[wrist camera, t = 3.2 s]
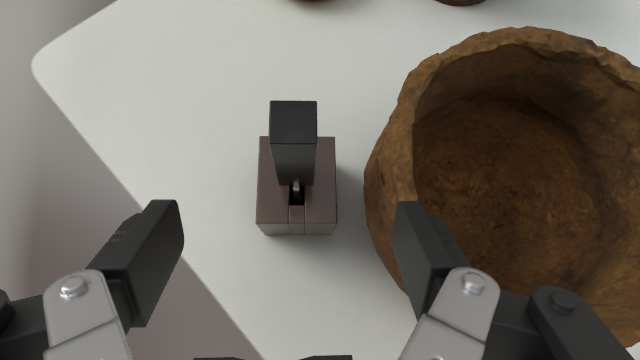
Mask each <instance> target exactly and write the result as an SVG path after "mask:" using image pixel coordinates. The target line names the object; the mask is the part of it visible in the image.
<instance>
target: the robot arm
mask: <svg viewBox="0 0 640 360" xmlns="http://www.w3.org/2000/svg"><path fill="white" fill-rule="evenodd" d="M183 247H184V233H183V228H182V223H181V218H180V213H179V208H178V204H177V202H176V200H151V201H150V203H149V204H148V205H147V207H146V208H145V209H144V210H143V212H142V213H137V214H135V215H133V216H132V217H130V218H129V219H127V220H126V221H124V222H123V223H122V224H121V225H120V227H119V228H118V229H117V230H116V231H115V234H113V235H112V236H111V238H110V239H109V242H107V243H106V244H105V245H104V246H103V247H102V249H101V250H100V251H99V252H98V254H97V255H96V256H95V257H94V259H93V260H92V261H91V262H90V263H89V265H88V266H87V267H86V268H85V270H80V271H75V272H72V273H70V274H67V275H65V276H63V277H61V278H59V279H58V280H56V281H55V282H53V283H52V284H51V285H50V286H49V287H48V288H47V289H46V291H45V292H44V294H43V295H39V296H34V297H30V298H25V299H21V300H16V301H12V302H11V301H10V299H9V298H8V296H7V294H6V292H5V291H3V290H1V289H0V360H135V359H134V357H133V354H132V351H131V348H130V346H129V343H128V340H127V337H126V335H127V333H128V331H129V329H130V328H131V327H146V325H147V323H148V321H149V319H150V317H151V315H152V313H153V311H154V309H155V306H156V304H157V303H158V300H159V298H160V296H161V294H162V292H163V290H164V288H165V286H166V284H167V282H168V280H169V278H170V276H171V274H172V272H173V270H174V267H175V265H176V263H177V261H178V259H179V257H180V255H181V253H182V251H183ZM392 248H393V252H394V255H395V258H396V261H397V264H398V267H399V270H400V272H401V275H402V278H403V281H404V284H405V287H406V290H407V293H408V296H409V298H410V301H411V304H412V307H413V310H414V313H415V316H416V319H417V322H418V323H417V325H416V327H415V329H414V331H413V333H412V335H411V336H410V338H409V340H408V342H407V344H406V346H405V347H404V349H403V351H402V353H401V355H400V357H399V359H398V360H634V359H633V357H632V356H631V355H630V354H629V353H628V351H627V350H626V349H625V348H624V347H623V345H622V344H621V343H620V342H619V341H618V340H617V338H616V337H615V336H614V335H613V334H612V333H611V331H610V330H609V329H608V328H607V327H606V325H605V324H604V323H603V322H602V321H601V320H600V318H599V317H598V316H597V315H596V314H595V312H594V311H593V310H592V309H591V308H590V307H589V305H588V304H587V303H586V302H585V301H584V300H583V299H581V298H580V297H579V296H577V295H576V294H574V293H572V292H571V291H569V290H566V289H564V288H561V287H558V286H554V285H539V286H537V287H535V288H534V290H533V291H532V294H531V296H527V295H523V294H518V293H514V292H509V291H505V290H502V289H500V288H499V285H498V284H497V282H496V281H495V280H494V279H493V278H492V277H491V276H489V275H488V274H486V273H485V272H483V271H481V270H478V269H475V268H473V267H472V265H471V264H470V262H469V260H468V259H467V257H466V256H465V254H464V252H463V251H462V249H461V248H460V246H459V244H458V243H457V242H456V239H455V238H454V236H453V235H452V234H451V231H450V230H449V228H448V227H447V225H446V223H445V222H444V221H442V220H441V219H440V218H439V217H437V216H436V215H435V214H427V212H426V211H425V209H424V207H423V205H422V204H421V202H420V201H398V203H397V207H396V213H395V219H394V226H393V232H392ZM194 360H243V359H238V358H234V357H224V358H194ZM300 360H352V355H332V356H311V357H308V358H304V359H300Z"/></svg>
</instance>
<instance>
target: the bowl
mask: <svg viewBox="0 0 640 360" xmlns="http://www.w3.org/2000/svg"><path fill="white" fill-rule="evenodd" d="M398 201H420V202H421V204H422V205H423V207H424V209H425V211H426V212H427V214H435V215H436V216H437V217H439V218H440V219H441V220H442V221H444V222H445V223H446V225H447V227H448V228H449V230H450V231H451V234H452V235H453V236H454V238H455V239H456V242H457V243H458V244H459V246H460V248H461V249H462V251H463V252H464V254H465V256H466V257H467V259H468V260H469V262H470V264H471V265H472V267H473V268H475V269H478V270H481V271H483V272H485V273H486V274H488V275H489V276H491V277H492V278H493V279H494V280H495V281H496V282H497V284H498V285H499V288H500V289H502V290H505V291H509V292H514V293H518V294H523V295H527V296H531V294H532V291H533V290H534V288H535V287H537V286H539V285H554V286H558V287H561V288H564V289H566V290H569V291H571V292H572V293H574V294H576V295H577V296H579V297H580V298H581V299H583V300H584V301H585V302H586V303H587V304H588V305H589V307H590V308H591V309H592V310H593V311H594V312H595V314H596V315H597V316H598V317H599V318H600V320H601V321H602V322H603V323H604V324H605V325H606V327H607V328H608V329H609V330H610V331H611V333H612V334H613V335H614V336H615V337H616V338H617V340H618V341H619V342H620V343H621V344H622V345H623V347H624V348H627V347H632V346H633V345H635V344H636V343H638V342H640V68H639V67H637V66H634V65H632V64H631V63H630V62H629V61H628V60H627V59H626V58H625V57H623V56H621V55H619V54H617V53H615V52H612V51H609V50H608V49H607V48H605V47H600V46H597V45H596V44H595V43H594V42H593V41H592V40H589V39H585V38H581V37H577V36H573V35H568V34H566V33H564V32H560V31H555V30H551V29H543V28H536V27H531V26H526V27H522V28H519V29H517V28H513V27H508V28H503V29H499V30H495V31H492V32H489V33H487V32H481V33H478V34H475V35H472V36H470V37H468V38H467V39H465V40H464V41H462V42H461V43H460V44H457V45H454V46H452V47H450V48H449V49H447V50H446V51H445V52H443V53H441V54H439V53H437V54H434V55H432V56H430V57H428V58H426V59H425V60H423V61H422V62H421V63H420V64H419V65H418V67H416V68H415V69H414V70H412V71H411V72H409V74H408V76H407V78H406V80H405V82H404V84H403V86H402V89H401V92H400V94H399V97H398V105H397V106H396V108H395V110H394V111H393V113H392V114H391V116H390V118H389V122H388V124H387V125H386V127H385V128H384V130H383V132H382V134H381V135H380V137H379V139H378V140H377V143H376V145H375V147H374V149H373V151H372V153H371V156H370V158H369V160H368V162H367V165H366V168H365V171H364V203H365V212H366V219H367V226H368V228H369V231H370V233H371V236H372V239H373V242H374V245H375V248H376V251H377V253H378V255H379V257H380V258H381V260H382V262H383V263H384V265H385V267H386V268H387V270H388V271H389V273H390V274H391V276H392V277H393V279H394V280H395V282H396V283H397V285H398V286H399V288H400V289H401V290H402V291H404V292H405V293H406V294H407V296H408V293H407V290H406V287H405V284H404V281H403V278H402V275H401V272H400V270H399V267H398V264H397V261H396V258H395V255H394V252H393V248H392V232H393V226H394V219H395V213H396V207H397V203H398ZM408 297H409V296H408Z"/></svg>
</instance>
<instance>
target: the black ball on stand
mask: <svg viewBox="0 0 640 360" xmlns="http://www.w3.org/2000/svg"><path fill="white" fill-rule="evenodd" d="M436 1H439V2H441V3H444V4H448V5H453V6H471V5H475V4H478V3H481V2H483V1H485V0H436Z"/></svg>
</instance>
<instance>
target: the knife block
mask: <svg viewBox="0 0 640 360" xmlns="http://www.w3.org/2000/svg"><path fill="white" fill-rule="evenodd" d="M268 141H269V136H260V137H259V159H258V182H257V205H256V224H257V225H258V227H259V228H260V229H261V231H262V232H263V233H264V234H265V235H291V234H292V235H304V234H305V235H331V233H332V231H333V230H334V228H335V226H336V224H337V199H336V161H335V137H317V152H316V163H315V174H314V184H313V186H305V205H292V186H279V183H278V179H277V175H276V171H275V167H274V163H273V159H272V155H271V151H270V147H269V143H268Z"/></svg>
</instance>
